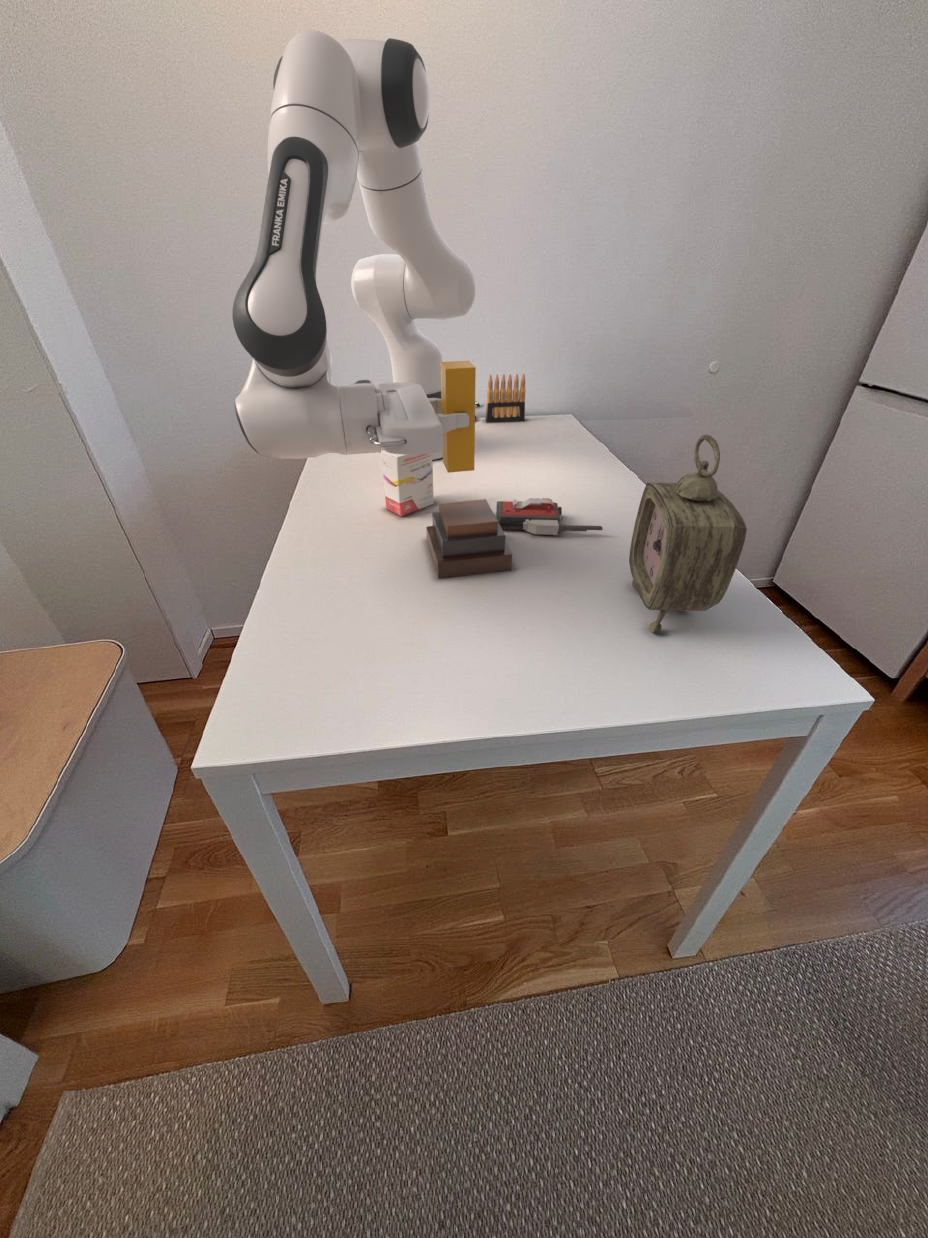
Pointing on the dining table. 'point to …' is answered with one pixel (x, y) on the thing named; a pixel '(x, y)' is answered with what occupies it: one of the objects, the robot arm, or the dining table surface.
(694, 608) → the tabletop clock
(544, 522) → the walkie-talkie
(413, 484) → the ink cartridge box
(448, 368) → the bar
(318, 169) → the robot arm
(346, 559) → the dining table surface
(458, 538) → the stacked square slabs
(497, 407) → the ammunition clip
